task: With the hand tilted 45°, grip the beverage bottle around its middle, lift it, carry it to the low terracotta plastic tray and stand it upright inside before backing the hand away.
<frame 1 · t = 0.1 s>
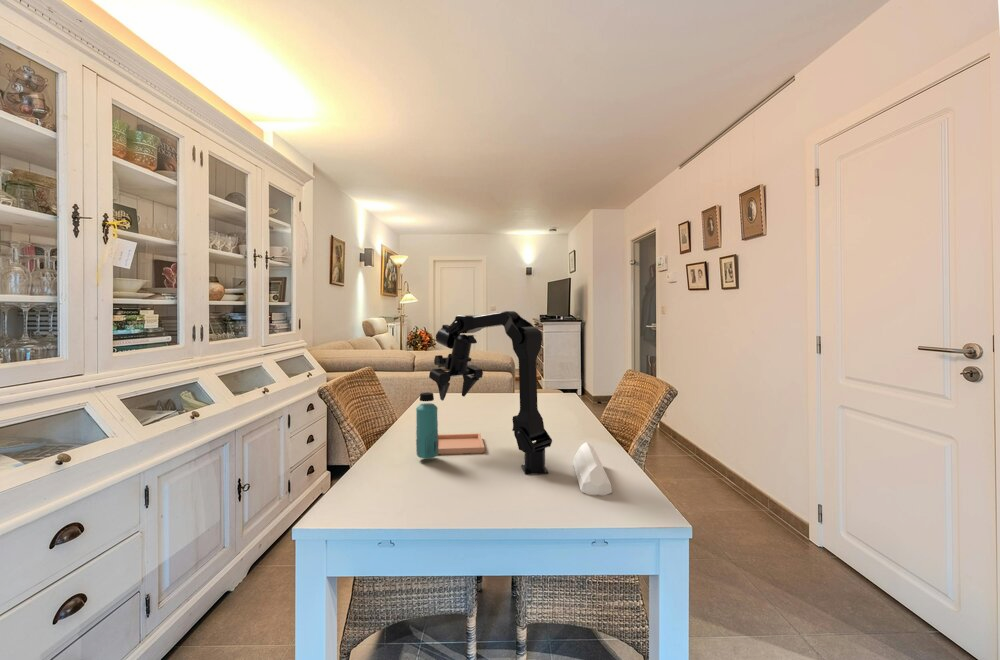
hand: (452, 398, 145), 15 cm above the table, tool pointing down, fingers open, 9 cm apart
beverage bottle: (427, 460, 131), on the table
crystal: (590, 480, 117), on the table
terracotta tray: (457, 446, 144), on the table
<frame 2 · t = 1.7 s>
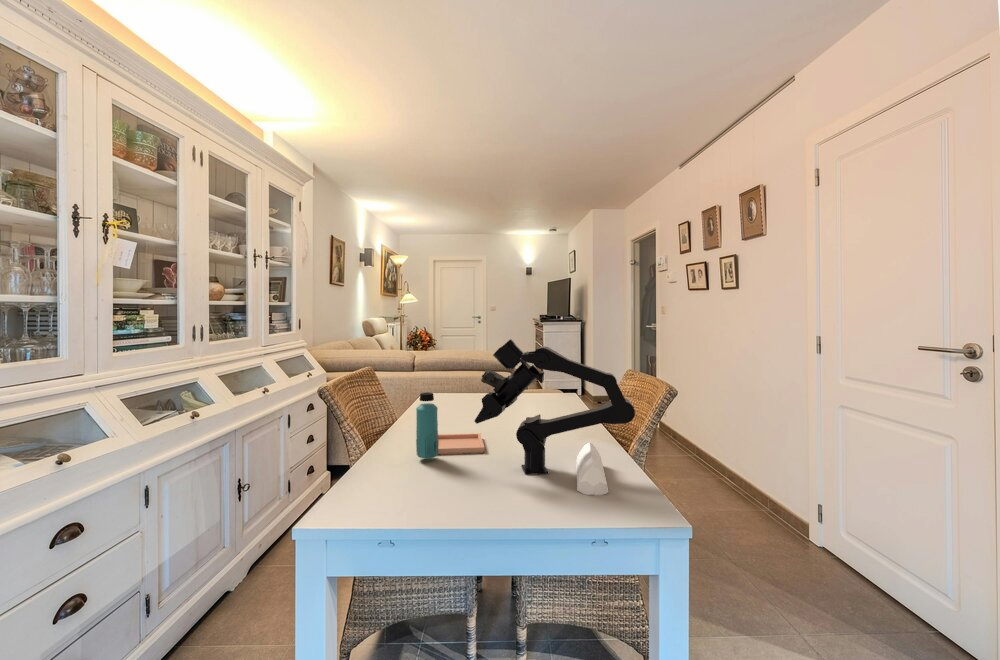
hand: (480, 418, 126), 14 cm above the table, tool tilted 45°, fingers open, 9 cm apart
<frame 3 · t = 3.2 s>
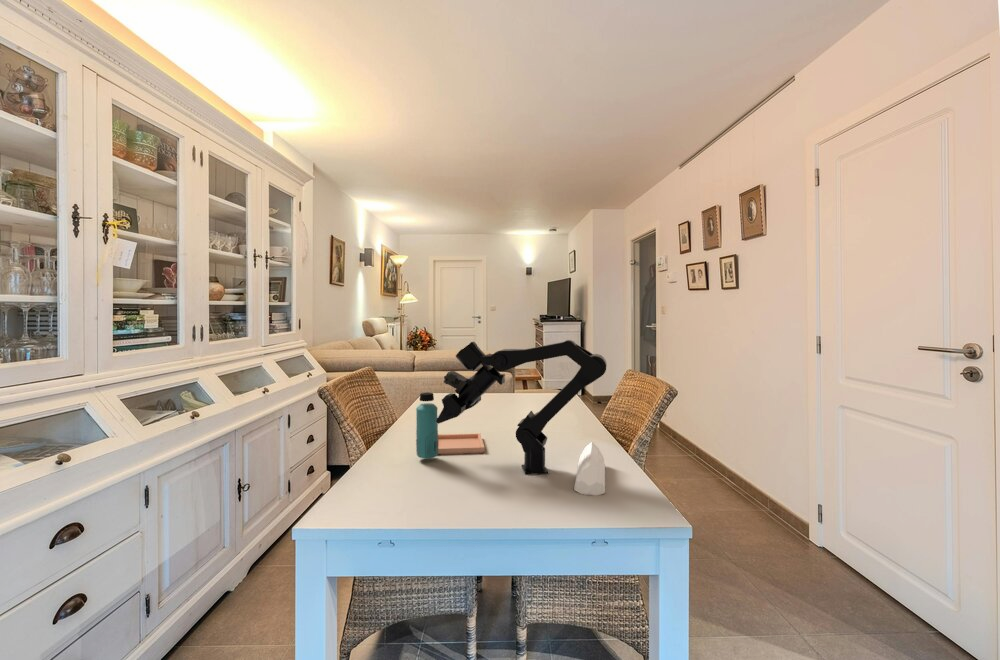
hand: (443, 418, 129), 13 cm above the table, tool tilted 45°, fingers open, 9 cm apart
nothing on the table moved.
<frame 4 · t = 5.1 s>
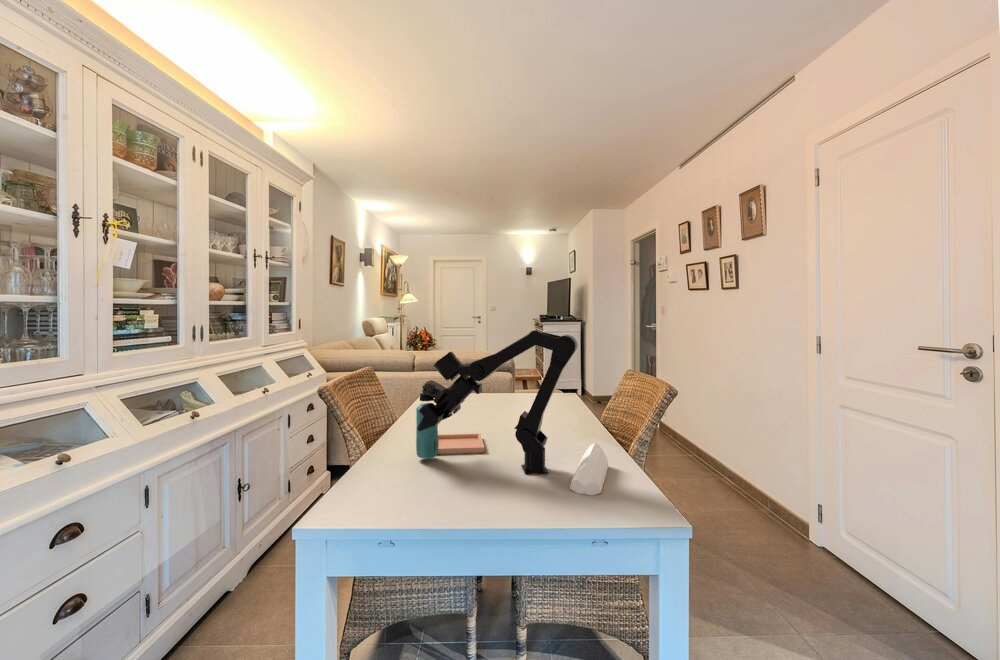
hand: (422, 427, 131), 10 cm above the table, tool tilted 45°, fingers closed on beverage bottle, 6 cm apart
beverage bottle: (427, 460, 131), on the table, touching gripper
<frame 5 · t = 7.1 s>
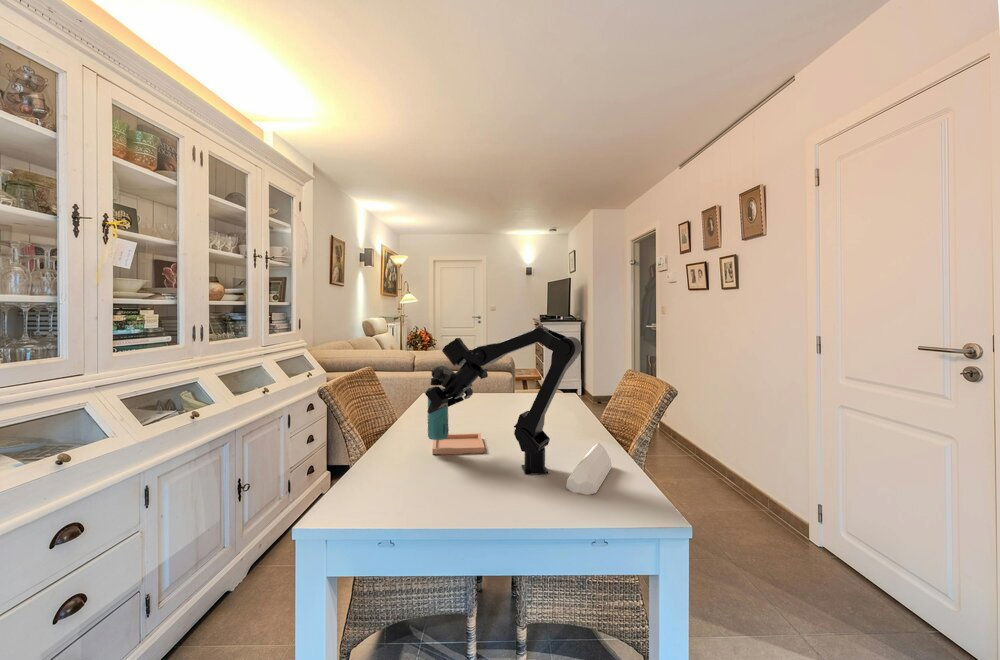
hand: (434, 410, 136), 13 cm above the table, tool tilted 45°, fingers closed on beverage bottle, 6 cm apart
beverage bottle: (438, 442, 136), point 3 cm above the table, touching gripper
when the fingers open (11 cm above the table, at t = 9.2 s): beverage bottle drops 1 cm, resting on terracotta tray.
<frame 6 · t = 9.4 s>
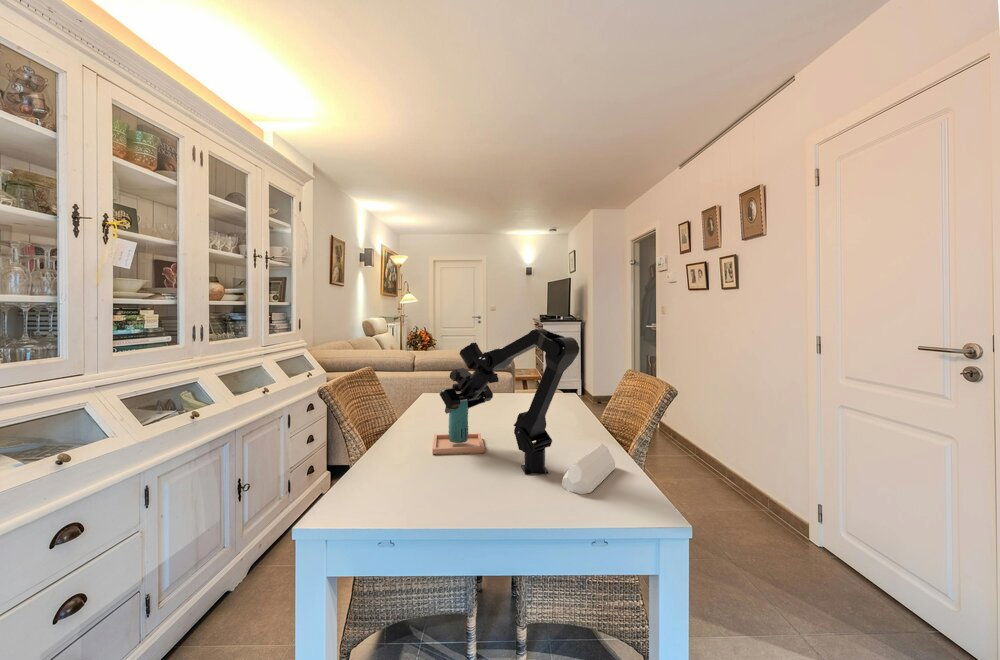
hand: (455, 410, 145), 12 cm above the table, tool tilted 45°, fingers open, 8 cm apart
beverage bottle: (458, 445, 144), resting on terracotta tray
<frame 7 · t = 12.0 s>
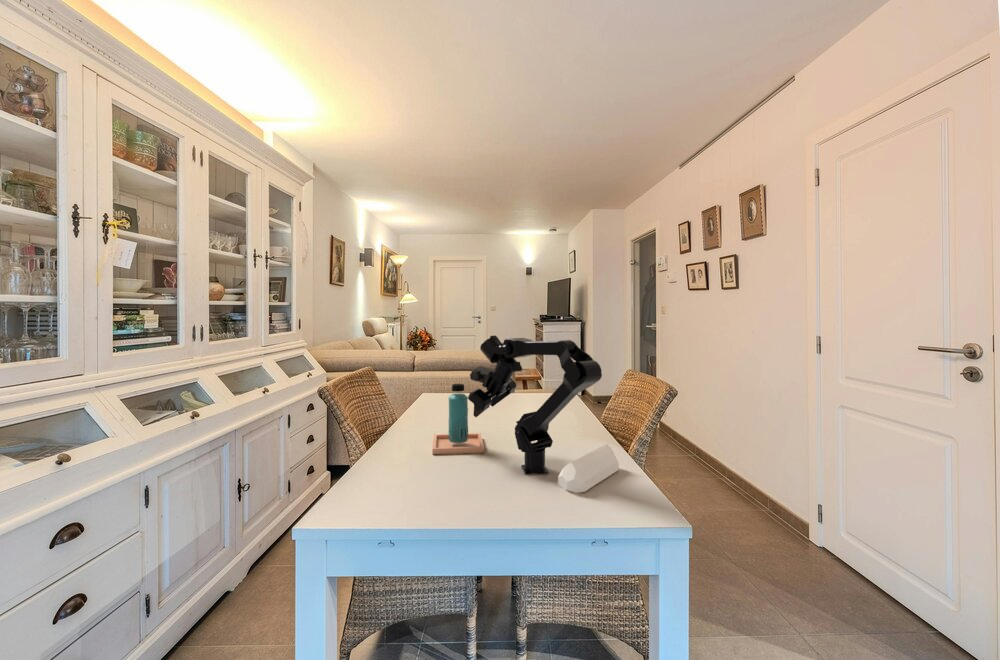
hand: (483, 410, 139), 13 cm above the table, tool tilted 35°, fingers open, 9 cm apart
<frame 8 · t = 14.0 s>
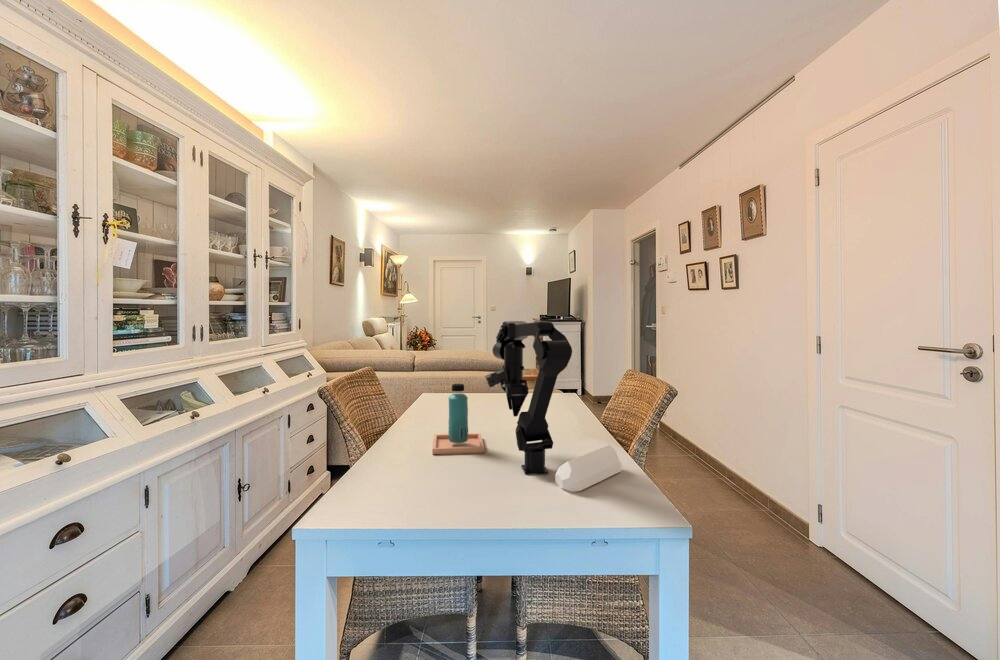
hand: (513, 412, 135), 13 cm above the table, tool pointing down, fingers open, 9 cm apart
at the end: beverage bottle inside the target area on the terracotta tray (0.2 cm from its centre), point 0.3 cm above the terracotta tray's base; beverage bottle tilted 0°; the gripper is holding nothing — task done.
